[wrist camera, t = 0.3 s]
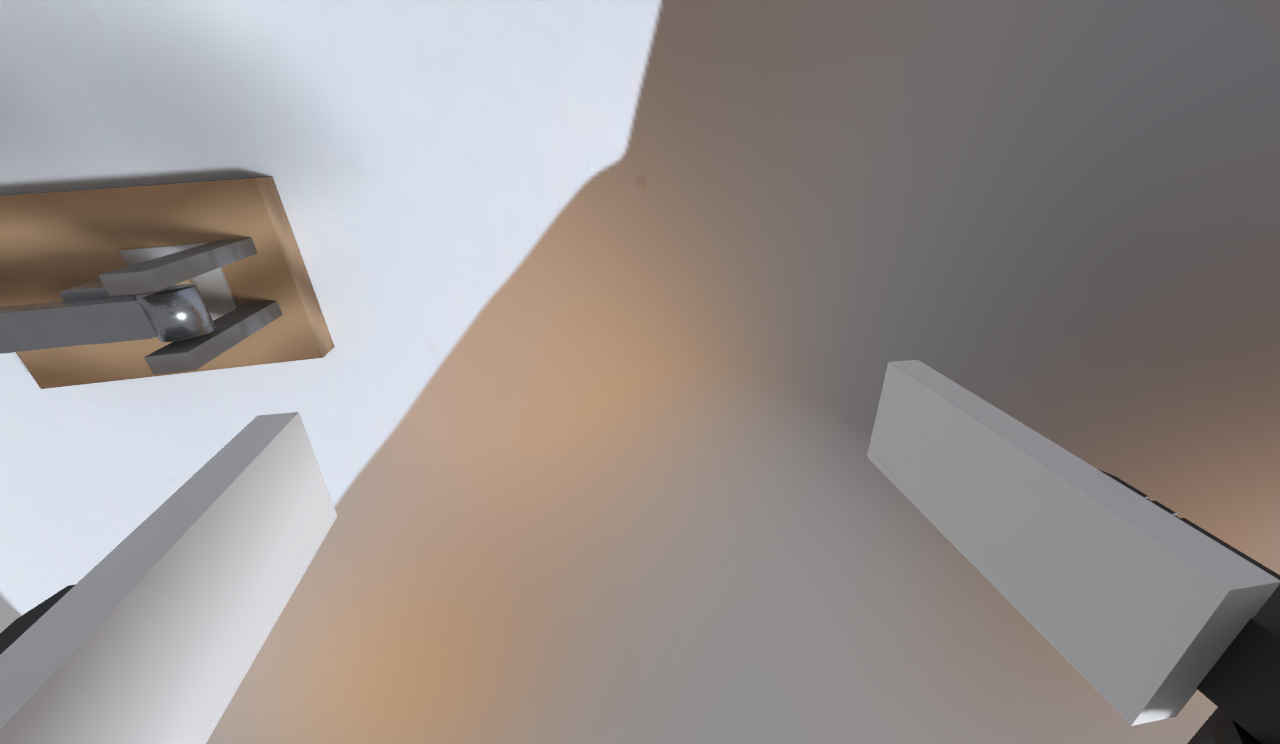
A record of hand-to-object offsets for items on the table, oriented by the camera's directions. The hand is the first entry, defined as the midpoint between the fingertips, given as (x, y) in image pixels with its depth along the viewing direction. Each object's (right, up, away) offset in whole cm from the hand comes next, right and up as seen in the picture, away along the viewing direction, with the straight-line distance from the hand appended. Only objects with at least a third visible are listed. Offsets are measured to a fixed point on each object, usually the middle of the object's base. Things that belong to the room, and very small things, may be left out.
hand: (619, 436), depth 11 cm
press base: (-32, +8, +22) cm, 39 cm away
